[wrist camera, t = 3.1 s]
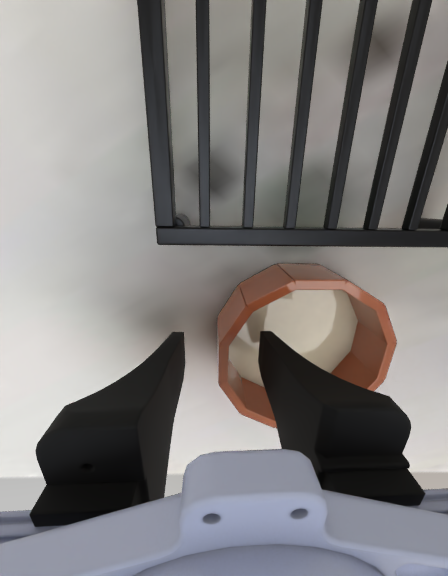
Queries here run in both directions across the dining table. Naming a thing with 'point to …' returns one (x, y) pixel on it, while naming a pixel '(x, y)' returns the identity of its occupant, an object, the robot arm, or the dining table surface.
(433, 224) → the rack
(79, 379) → the dining table surface
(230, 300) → the terracotta bowl
